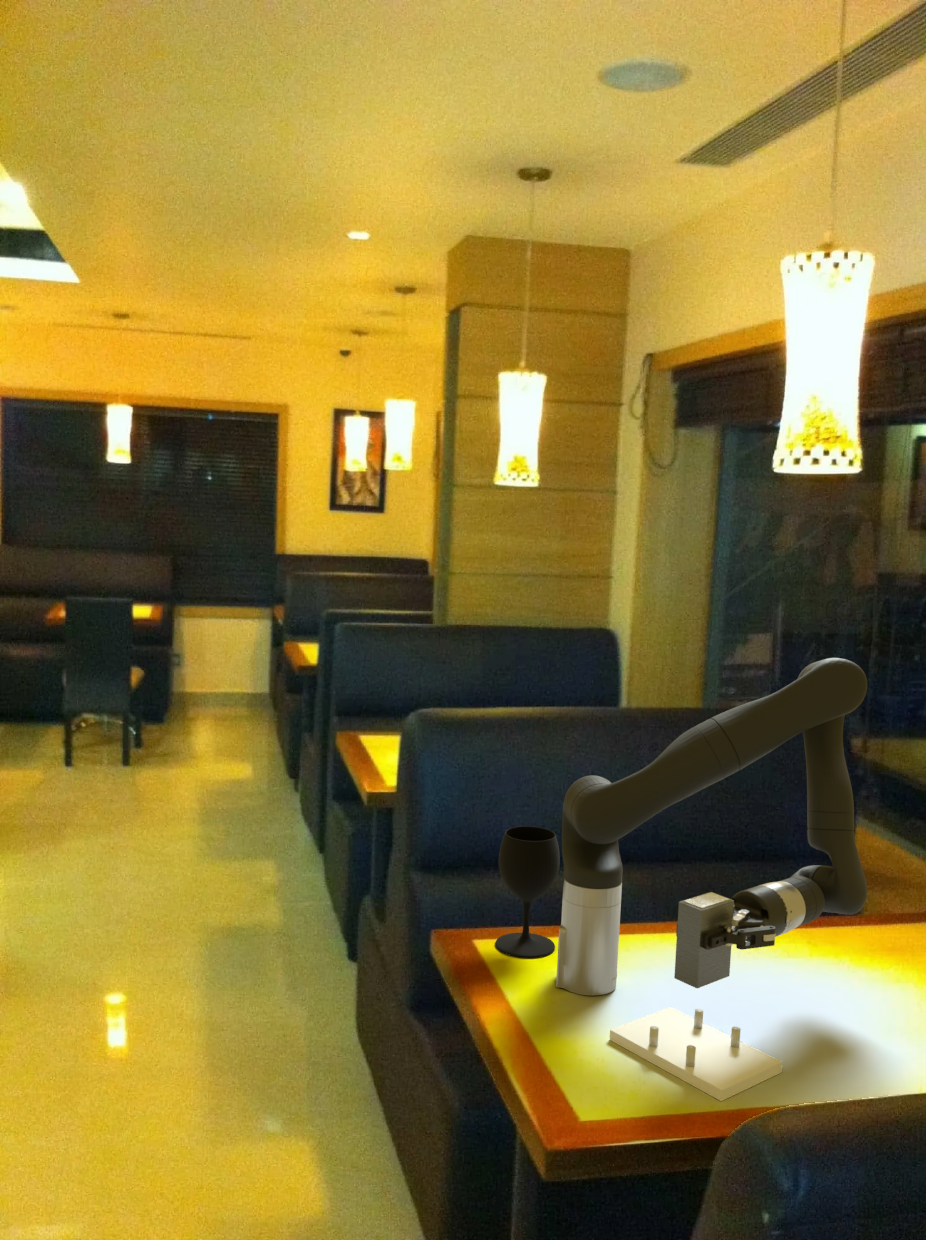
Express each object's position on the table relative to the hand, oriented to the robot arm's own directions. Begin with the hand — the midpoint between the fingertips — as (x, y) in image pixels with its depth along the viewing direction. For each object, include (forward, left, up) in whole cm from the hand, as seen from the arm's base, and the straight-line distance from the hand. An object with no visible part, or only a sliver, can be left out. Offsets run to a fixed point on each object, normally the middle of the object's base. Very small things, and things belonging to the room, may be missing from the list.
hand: (692, 936), depth 154 cm
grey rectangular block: (+2, +2, -6) cm, 7 cm away
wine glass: (-28, +33, -18) cm, 46 cm away
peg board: (+1, +2, -18) cm, 18 cm away
